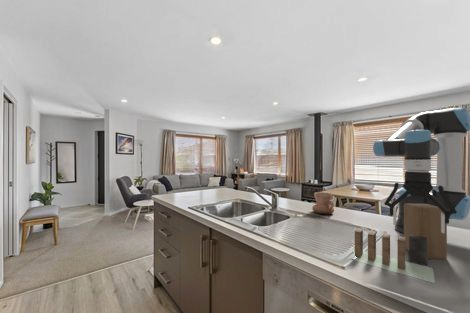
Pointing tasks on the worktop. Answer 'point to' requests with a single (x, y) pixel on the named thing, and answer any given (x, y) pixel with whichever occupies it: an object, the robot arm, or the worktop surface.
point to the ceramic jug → (323, 203)
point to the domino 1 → (371, 246)
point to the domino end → (358, 242)
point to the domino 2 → (386, 249)
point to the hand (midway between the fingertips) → (417, 228)
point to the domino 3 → (401, 252)
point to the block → (426, 228)
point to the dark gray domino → (418, 249)
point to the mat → (410, 268)
